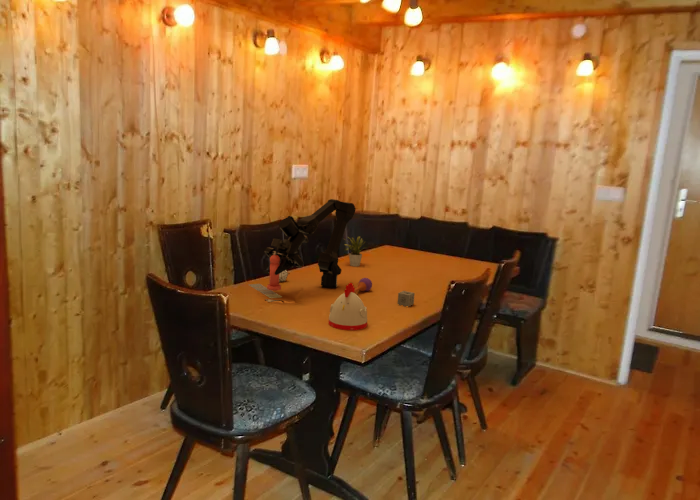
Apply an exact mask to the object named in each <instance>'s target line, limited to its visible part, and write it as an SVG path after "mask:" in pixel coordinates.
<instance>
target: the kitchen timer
mask: <svg viewBox="0 0 700 500" xmlns="http://www.w3.org/2000/svg"><path fill="white" fill-rule="evenodd" d="M355 288H356V287H354V285H353V282H349V283H348V284H347V285H345V289H343V290H344V292H343V293H342V294H340V295H339V296H337V298H336V300H334V302H333V303H331V304H330V308H329V316H328V325H329V326H330V327H332V328H335V329H338V330H344V331H357V330H364V329H366V328H367V326H368V310H367V309H368V308H367V306H365V304H364V301H363V300H362V299H361V298H360V297H359V296H358V294H356V293H354V290H355Z"/></svg>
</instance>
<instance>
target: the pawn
mask: <svg viewBox="0 0 700 500" xmlns="http://www.w3.org/2000/svg"><path fill="white" fill-rule="evenodd" d="M279 262H280V263H281V258H280V257H279V256H278V255H272V256H271V257H270V258H269V266H270V273H269V283H267V285H266V288H267V289H268V290H271V291H273V292H275V291H281V290H282V285H281V284H280V282H279V274H278V275H275V272H276V270H277V268H278V267H279V265H280V263H279ZM268 290H267V291H268Z"/></svg>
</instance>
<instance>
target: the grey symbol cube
mask: <svg viewBox="0 0 700 500" xmlns="http://www.w3.org/2000/svg"><path fill="white" fill-rule="evenodd" d="M415 295H416V294H415V292H412V291H408V290H407V291H406V290H402V291H400V292H398V293H397V304H399V305H398V306H401V305H403V306H402V307H406V306H408V307H407V308H409V306H410V307H412V306H414V305H413V304H415ZM411 305H412V306H411Z"/></svg>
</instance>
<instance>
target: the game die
mask: <svg viewBox="0 0 700 500" xmlns="http://www.w3.org/2000/svg"><path fill="white" fill-rule="evenodd" d="M290 274H291V273H290V272H288V271H287V270H285V271H283V272H281V273H279V283H281V282H283V283H285V282H286V281H287V278H288V275H290Z"/></svg>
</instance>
